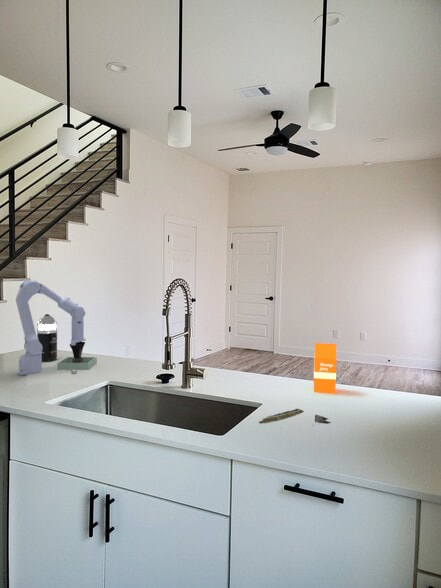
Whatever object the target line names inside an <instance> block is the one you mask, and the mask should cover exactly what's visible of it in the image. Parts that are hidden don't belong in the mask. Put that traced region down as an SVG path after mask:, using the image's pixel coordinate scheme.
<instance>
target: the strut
mask: <svg viewBox="0 0 441 588" xmlns="http://www.w3.org/2000/svg"><path fill="white" fill-rule="evenodd" d="M83 357H84V356H82V354H81V349H80V354H79V358H73V359H72V363H81V362H83Z"/></svg>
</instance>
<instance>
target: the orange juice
mask: <svg viewBox="0 0 441 588" xmlns="http://www.w3.org/2000/svg"><path fill="white" fill-rule="evenodd" d="M313 358H314V362H313V393H319V394H336V387H337V385H336V383H337V382H336V380H337V344H336V343H319V342H318V343H317V342H315V344H314V357H313Z"/></svg>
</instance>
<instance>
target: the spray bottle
mask: <svg viewBox="0 0 441 588" xmlns="http://www.w3.org/2000/svg"><path fill="white" fill-rule="evenodd" d="M36 328H37V329H36V335H37V337H38V340H39V342H40V343H41V344H42V347H43V349H42V352H41V353H42V362H53V361H56V360H57V359H58V323H57V320H56V319H55V318H54V317H53V316H51V315H50V314H49V313H46V314H44V315H43V316H42V317H41V318H40V319H38V321H37V324H36Z"/></svg>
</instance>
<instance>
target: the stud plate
mask: <svg viewBox="0 0 441 588" xmlns="http://www.w3.org/2000/svg"><path fill="white" fill-rule="evenodd" d="M70 371H71V372H70V373H71V375H77V372H78V371H77V370H76V369H72V370H70Z"/></svg>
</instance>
